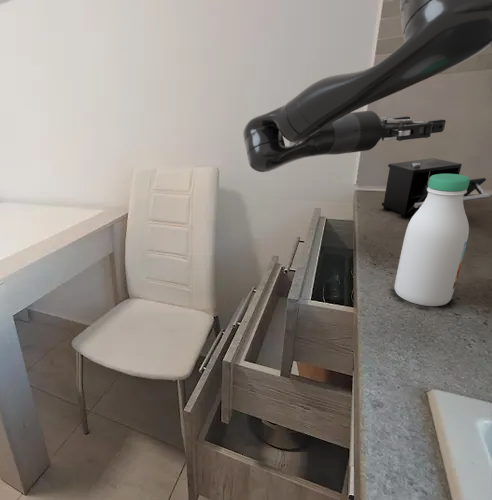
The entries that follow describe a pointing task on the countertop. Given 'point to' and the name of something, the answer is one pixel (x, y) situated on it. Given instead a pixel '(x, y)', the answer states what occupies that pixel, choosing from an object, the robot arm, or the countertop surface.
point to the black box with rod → (412, 182)
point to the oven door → (472, 186)
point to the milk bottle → (434, 243)
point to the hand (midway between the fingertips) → (424, 123)
